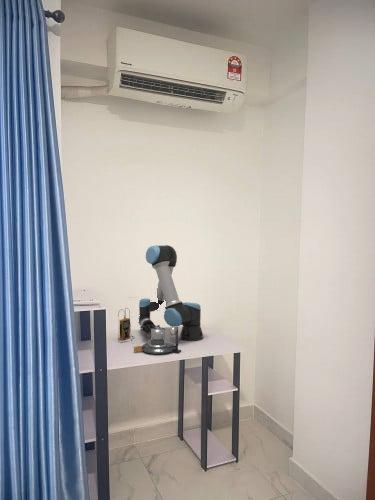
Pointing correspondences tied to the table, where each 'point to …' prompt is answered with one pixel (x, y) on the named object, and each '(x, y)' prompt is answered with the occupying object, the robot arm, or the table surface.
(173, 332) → the indicator
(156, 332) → the cover
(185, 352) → the table surface
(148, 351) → the turntable
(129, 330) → the multimeter
